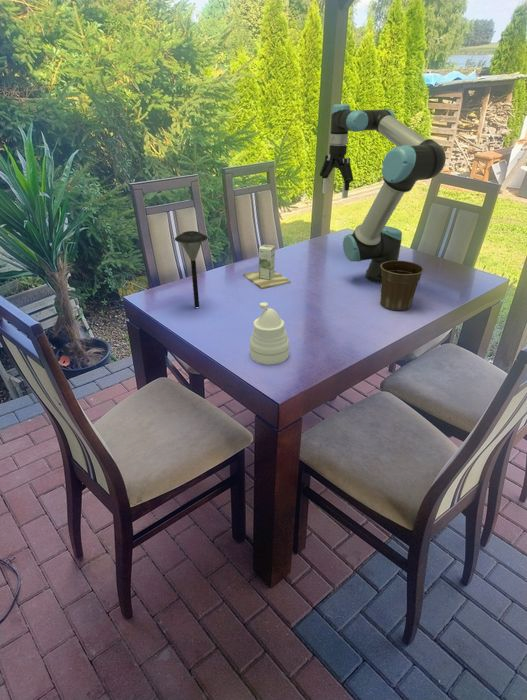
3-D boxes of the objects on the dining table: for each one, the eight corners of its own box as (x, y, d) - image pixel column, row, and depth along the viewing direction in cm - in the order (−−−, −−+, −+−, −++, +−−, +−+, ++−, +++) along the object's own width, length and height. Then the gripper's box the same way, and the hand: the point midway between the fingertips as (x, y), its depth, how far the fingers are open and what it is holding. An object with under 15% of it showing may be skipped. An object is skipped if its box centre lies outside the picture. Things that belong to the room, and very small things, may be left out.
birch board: (290, 282, 200) (290, 280, 200) (261, 289, 194) (261, 287, 194) (270, 270, 214) (270, 268, 213) (243, 275, 208) (243, 273, 207)
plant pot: (384, 293, 190) (390, 257, 182) (421, 302, 182) (429, 265, 174) (368, 306, 179) (373, 268, 171) (407, 317, 171) (415, 277, 163)
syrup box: (274, 276, 205) (275, 245, 197) (270, 280, 200) (270, 249, 193) (263, 274, 207) (263, 243, 199) (258, 278, 202) (258, 247, 194)
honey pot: (243, 360, 144) (242, 310, 135) (258, 341, 155) (258, 294, 145) (281, 367, 140) (282, 317, 131) (293, 348, 151) (295, 300, 142)
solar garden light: (205, 316, 172) (199, 239, 156) (176, 312, 175) (167, 236, 159) (217, 303, 182) (212, 230, 166) (189, 299, 185) (183, 227, 169)
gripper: (313, 142, 201) (311, 191, 211) (351, 147, 183) (346, 201, 193) (326, 141, 204) (323, 190, 215) (364, 146, 186) (359, 199, 197)
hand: (334, 195), depth 204 cm, fingers open, 13 cm apart
